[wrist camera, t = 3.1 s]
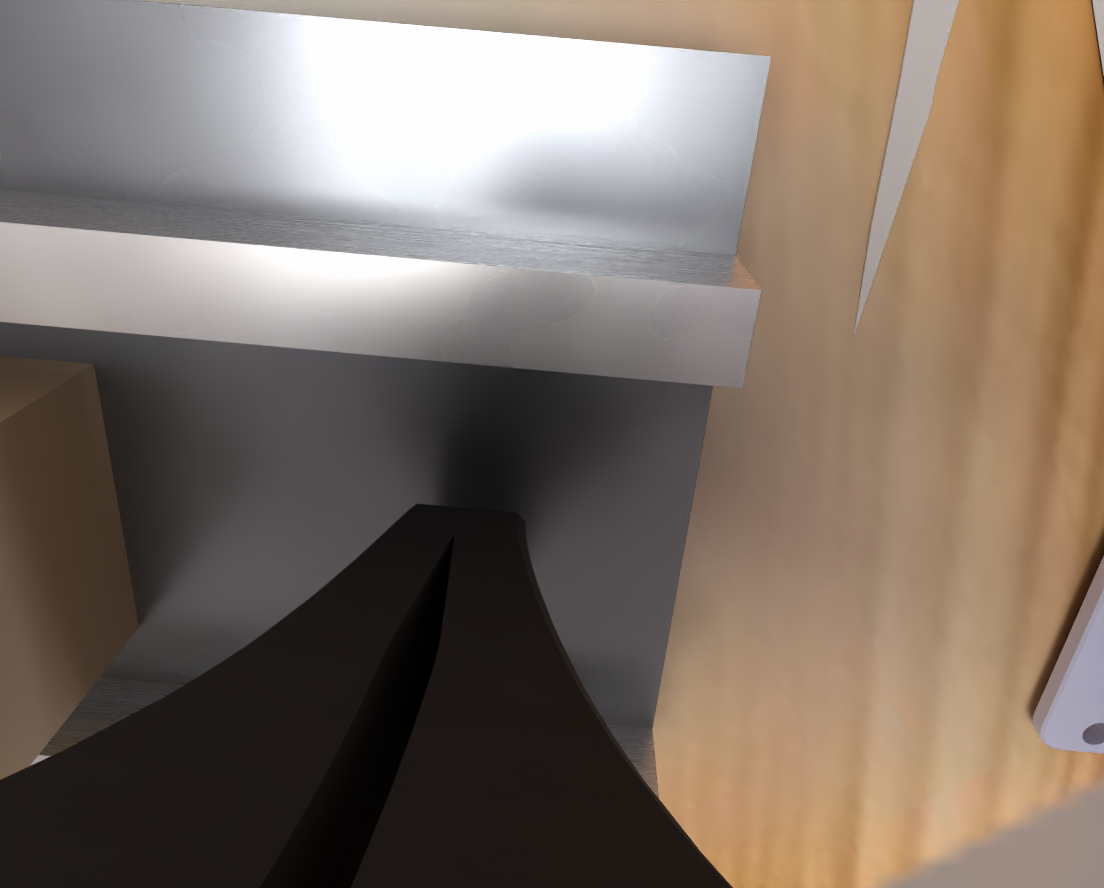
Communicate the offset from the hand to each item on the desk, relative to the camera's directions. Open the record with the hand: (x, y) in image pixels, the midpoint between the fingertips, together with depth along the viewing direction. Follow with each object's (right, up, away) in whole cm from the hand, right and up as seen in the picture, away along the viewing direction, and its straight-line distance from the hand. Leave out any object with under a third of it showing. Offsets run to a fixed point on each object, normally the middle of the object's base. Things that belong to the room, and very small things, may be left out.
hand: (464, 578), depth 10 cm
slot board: (-5, +2, +4) cm, 6 cm away
